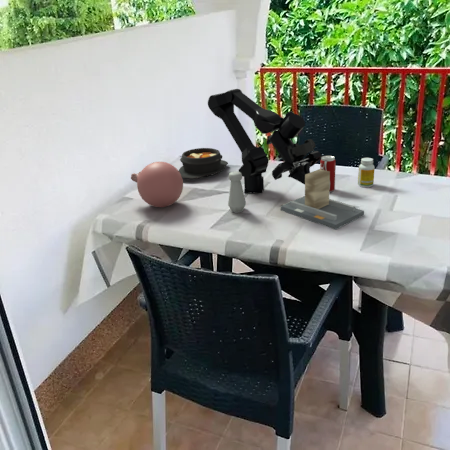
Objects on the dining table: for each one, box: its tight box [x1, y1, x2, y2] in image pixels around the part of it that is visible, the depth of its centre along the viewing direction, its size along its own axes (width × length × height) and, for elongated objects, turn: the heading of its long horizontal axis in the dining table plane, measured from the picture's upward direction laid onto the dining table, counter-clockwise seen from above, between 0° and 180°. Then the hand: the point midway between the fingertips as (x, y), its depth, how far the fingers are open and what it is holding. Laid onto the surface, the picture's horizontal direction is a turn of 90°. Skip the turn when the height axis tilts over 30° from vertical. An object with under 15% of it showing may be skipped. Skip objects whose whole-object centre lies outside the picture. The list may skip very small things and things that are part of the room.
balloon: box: [130, 161, 184, 208], centre depth 171 cm, size 15×20×15 cm
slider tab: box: [304, 168, 330, 209], centre depth 158 cm, size 4×7×11 cm, turn 131°
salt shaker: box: [227, 171, 247, 213], centre depth 163 cm, size 6×6×13 cm
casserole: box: [178, 147, 229, 180], centre depth 201 cm, size 25×19×8 cm
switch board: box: [280, 195, 365, 230], centre depth 159 cm, size 22×14×3 cm, turn 41°
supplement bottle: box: [357, 157, 376, 188], centre depth 178 cm, size 5×5×10 cm
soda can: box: [319, 155, 337, 193], centre depth 175 cm, size 5×5×12 cm
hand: (311, 186), depth 159 cm, fingers closed, pressing on slider tab
